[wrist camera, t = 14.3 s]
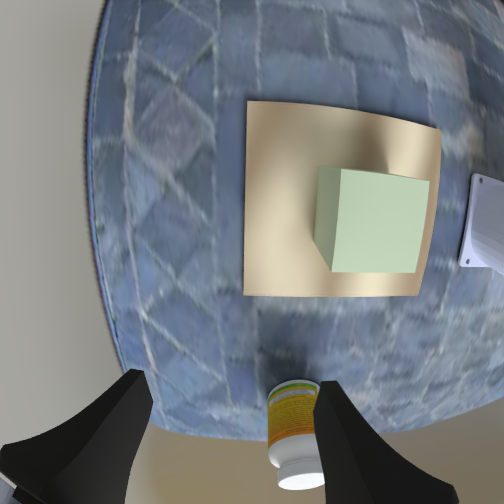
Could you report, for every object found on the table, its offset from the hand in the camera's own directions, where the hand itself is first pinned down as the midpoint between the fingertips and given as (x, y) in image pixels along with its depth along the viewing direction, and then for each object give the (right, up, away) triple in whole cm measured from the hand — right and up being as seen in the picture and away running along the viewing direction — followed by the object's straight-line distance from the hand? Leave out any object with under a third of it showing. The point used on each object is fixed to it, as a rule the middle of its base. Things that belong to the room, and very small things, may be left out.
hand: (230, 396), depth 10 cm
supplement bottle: (+5, -8, +14) cm, 17 cm away
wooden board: (+7, +9, +8) cm, 14 cm away
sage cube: (+7, +9, +7) cm, 14 cm away
